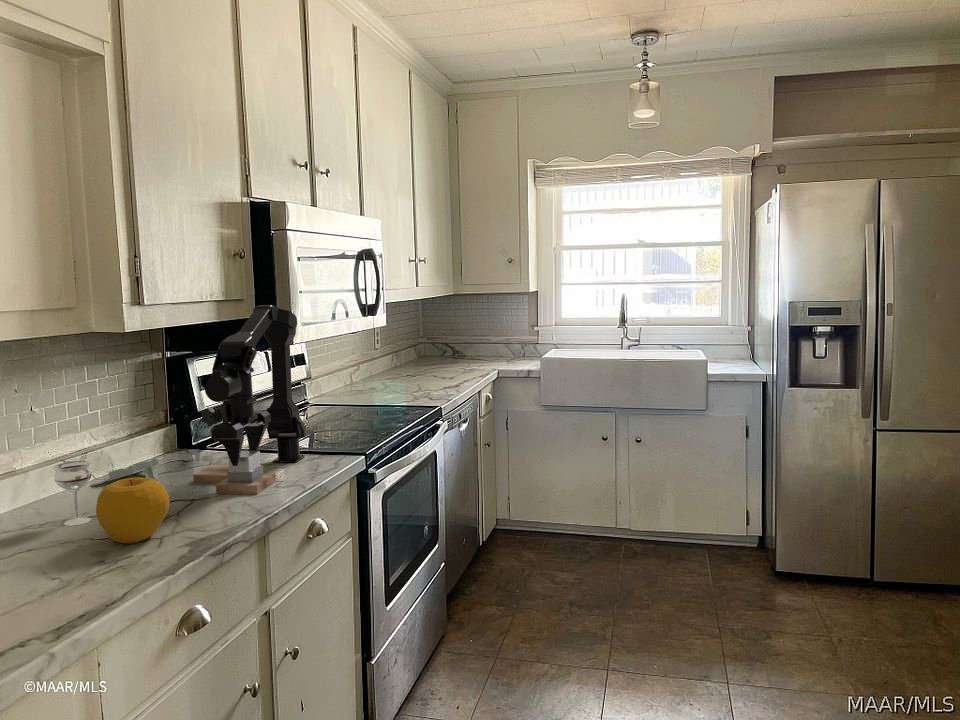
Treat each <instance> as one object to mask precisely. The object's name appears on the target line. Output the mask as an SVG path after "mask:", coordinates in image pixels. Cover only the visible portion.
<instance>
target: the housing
mask: <svg viewBox="0 0 960 720" xmlns="http://www.w3.org/2000/svg"><path fill="white" fill-rule="evenodd" d="M228 464H229V471H228V472H227V477H228V483H253V482H254V481H256V480H258V479H259V478H261V477H262V476H264V473H265V472H264V465H263V464H262V463H261V451H260V450H257V451H250V450H241V454H240V459H239V462H238V465H237V466H233V465H232V463H231V461H230V458H229V457H228Z"/></svg>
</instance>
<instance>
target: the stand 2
mask: <svg viewBox="0 0 960 720" xmlns="http://www.w3.org/2000/svg"><path fill="white" fill-rule="evenodd" d="M276 478H277V477H276V473H274V472H271V473H268V472H266V473H265V472H264V476H262V477H261V478H259V479H258V480H256V481H254V482H253V483H228V478H227V479H225V480H223V481H222V482H220V483H215V493H216V494H225V495H230V494H231V495H232V494H233V495H236V494H237V495H258V494H260V493H262V492H263V491H264V490H266V489H267V488H268V487H270V486H271V485H273V484H275V483H276V482H277V481H276V480H277V479H276Z"/></svg>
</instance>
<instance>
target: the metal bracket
mask: <svg viewBox="0 0 960 720" xmlns="http://www.w3.org/2000/svg"><path fill="white" fill-rule="evenodd" d="M166 463H167V461H164V462H161V463H160V461H159V458H158V457H154V458H152V459H151V460H143V461H142V460H141V461H139V462H136V463H133V464H131V465H129V466H128V467H127V468H124V467H123V468H118V469H115V470H111V471H109V472H108V477H109V478H106V479H104V480H100V481H98V482H96V483H95V482H94V483H92V484H90V487H93V486H96V485H99V484H103V483H105V482H110V481H112V480H116V479H119V478H123V477H126V476H129V475H134V474H136V473H139V472H144V473H143V474H144V478H151V479H156V480H157V481H159V480H160V477H159V474H158V471H157V468H156V467H157V466H159V465H164V464H166Z"/></svg>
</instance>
